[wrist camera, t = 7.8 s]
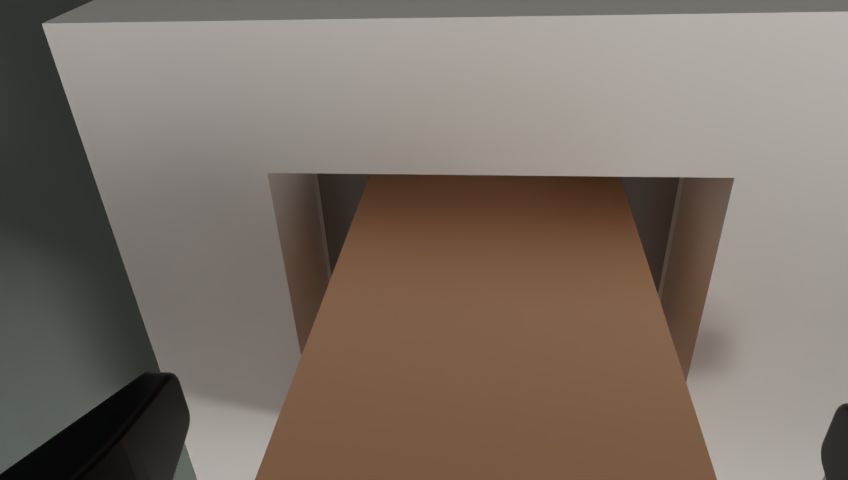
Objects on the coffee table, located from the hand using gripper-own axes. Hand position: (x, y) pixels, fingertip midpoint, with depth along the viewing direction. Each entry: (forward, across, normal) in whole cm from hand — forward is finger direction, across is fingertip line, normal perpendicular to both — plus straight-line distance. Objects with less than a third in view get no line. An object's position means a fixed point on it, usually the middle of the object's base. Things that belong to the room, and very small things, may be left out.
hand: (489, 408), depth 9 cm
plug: (+3, 0, 0) cm, 3 cm away
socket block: (+4, 0, 0) cm, 4 cm away
